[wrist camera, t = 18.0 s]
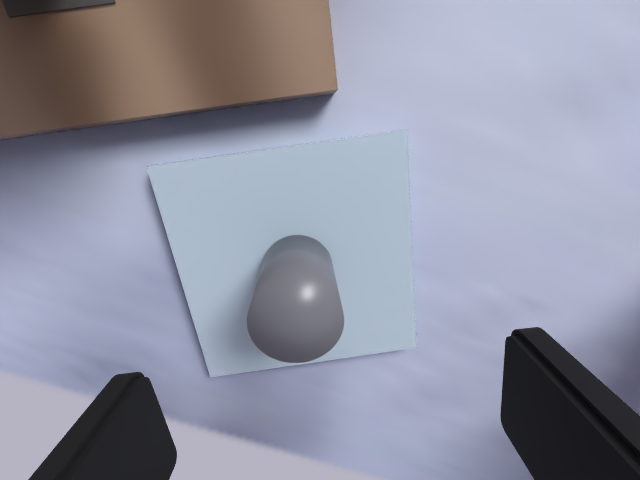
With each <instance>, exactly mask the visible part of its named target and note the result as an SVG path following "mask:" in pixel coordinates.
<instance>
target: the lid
mask: <svg viewBox="0 0 640 480" xmlns="http://www.w3.org/2000/svg"><path fill="white" fill-rule="evenodd" d="M147 171H148V174H149V177H150V180H151V184H152V187H153V190H154V194H155V197H156V200H157V204H158V207H159V210H160V213H161V217H162V220H163V223H164V227H165V230H166V233H167V236H168V240H169V243H170V246H171V250H172V253H173V256H174V259H175V263H176V266H177V269H178V273H179V276H180V279H181V283H182V286H183V289H184V292H185V296H186V299H187V302H188V306H189V309H190V312H191V315H192V319H193V322H194V325H195V329H196V332H197V335H198V338H199V342H200V345H201V348H202V352H203V355H204V358H205V362H206V365H207V368H208V371H209V375H210V378H211V377H218V376H225V375H232V374H239V373H246V372H252V371H259V370H266V369H273V368H280V367H287V366H294V365H301V364H308V363H315V362H321V361H328V360H335V359H342V358H349V357H356V356H363V355H370V354H377V353H384V352H391V351H397V350H404V349H411V348H417V344H416V320H415V295H414V270H413V246H412V221H411V197H410V172H409V148H408V130H398V131H391V132H384V133H377V134H370V135H363V136H355V137H348V138H341V139H334V140H327V141H320V142H313V143H306V144H299V145H291V146H284V147H277V148H270V149H263V150H256V151H249V152H242V153H234V154H227V155H220V156H213V157H206V158H199V159H192V160H185V161H178V162H170V163H163V164H156V165H152V166H148V167H147Z"/></svg>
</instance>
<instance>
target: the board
mask: <svg viewBox="0 0 640 480" xmlns="http://www.w3.org/2000/svg"><path fill="white" fill-rule="evenodd" d="M337 90H338V87H337V77H336V68H335V58H334V48H333V39H332V29H331V19H330V10H329V0H0V140H1V139H8V138H16V137H23V136H30V135H37V134H44V133H52V132H59V131H66V130H73V129H81V128H88V127H95V126H102V125H109V124H117V123H124V122H131V121H138V120H145V119H153V118H160V117H167V116H174V115H182V114H189V113H196V112H203V111H210V110H218V109H225V108H232V107H239V106H246V105H254V104H261V103H268V102H275V101H283V100H290V99H297V98H304V97H311V96H319V95H326V94H333V93H335V92H336V91H337Z"/></svg>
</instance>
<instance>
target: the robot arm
mask: <svg viewBox="0 0 640 480" xmlns="http://www.w3.org/2000/svg"><path fill="white" fill-rule="evenodd" d="M501 422H502V426H503V428H504V431H505V432H506V434H507V436H508V437H509V439H510V441H511V442H512V444H513V446H514V447H515V449H516V450H517V452H518V454H519V455H520V457H521V459H522V460H523V462H524V463H525V465H526V467H527V468H528V470H529V472H530V473H531V475H532V476H533V478H534V480H640V416H639V415H638V414H637V413H635V412H634V411H633V410H632V409H631V408H630V407H629V406H628V405H627V404H625V403H624V402H623V401H622V400H621V399H620V398H619V397H618V396H617V395H615V394H614V393H613V392H612V391H611V390H610V389H609V388H608V387H606V386H605V385H604V384H603V383H602V382H601V381H600V380H599V379H598V378H596V377H595V376H594V375H593V374H592V373H591V372H590V371H589V370H588V369H586V368H585V367H584V366H583V365H582V364H581V363H580V362H579V361H577V360H576V359H575V358H574V357H573V356H572V355H571V354H570V353H569V352H567V351H566V350H565V349H564V348H563V347H562V346H561V345H560V344H559V343H557V342H556V341H555V340H554V339H553V338H552V337H551V336H550V335H549V334H547V333H546V332H545V331H544V330H543V329H541V328H539V327H534V328H525V329H516V330H513V332H512V334H511V336H509V337H507V338H506V342H505V356H504V371H503V387H502V402H501ZM176 458H177V451H176V448H175V445H174V442H173V440H172V437H171V434H170V432H169V429H168V426H167V424H166V421H165V418H164V416H163V413H162V410H161V408H160V405H159V402H158V400H157V397H156V394H155V392H154V389H153V387H152V384H151V381H150V379H149V378H148V377H144V375H143V374H142V373H141V372H134V373H126V374H118V375H115V376H114V377H113V378H112V379H111V380H110V381H109V383H108V384H107V385H106V386H105V387H104V389H103V390H102V391H101V392H100V393H99V395H98V396H97V397H96V398H95V400H94V401H93V402H92V403H91V404H90V406H89V407H88V408H87V409H86V410H85V412H84V413H83V414H82V415H81V416H80V418H79V419H78V420H77V421H76V423H75V424H74V425H73V426H72V427H71V429H70V430H69V431H68V432H67V434H66V435H65V436H64V437H63V438H62V440H61V441H60V442H59V443H58V444H57V446H56V447H55V448H54V449H53V450H52V452H51V453H50V454H49V455H48V457H47V458H46V459H45V460H44V461H43V463H42V464H41V465H40V466H39V467H38V469H37V470H36V471H35V472H34V473H33V475H32V476H31V477H30V478H29V480H169V478H170V476H171V474H172V471H173V469H174V467H175V464H176Z"/></svg>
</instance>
